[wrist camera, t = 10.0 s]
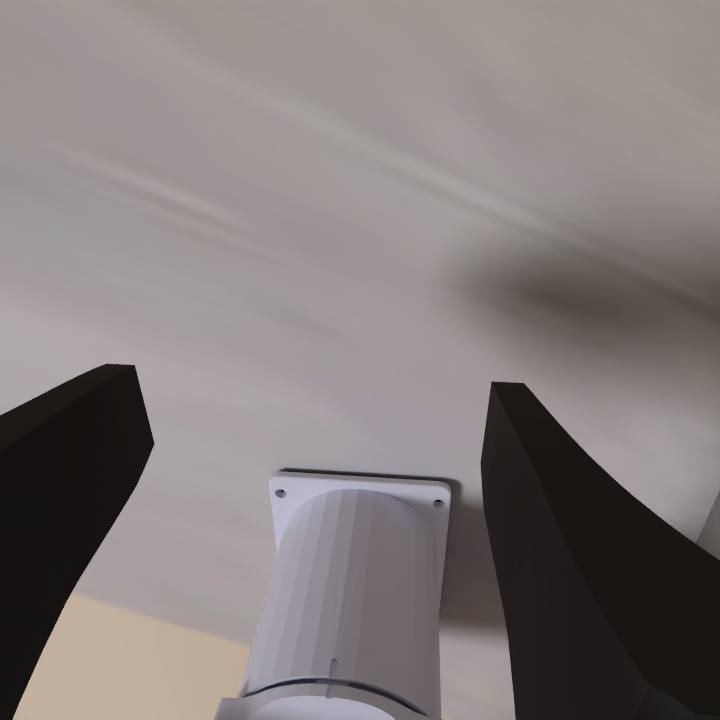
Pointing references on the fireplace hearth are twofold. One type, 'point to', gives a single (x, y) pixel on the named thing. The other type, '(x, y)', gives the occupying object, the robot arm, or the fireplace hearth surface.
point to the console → (712, 531)
